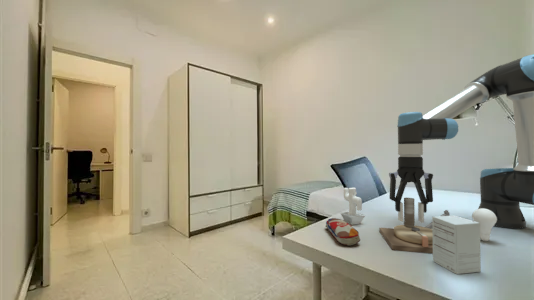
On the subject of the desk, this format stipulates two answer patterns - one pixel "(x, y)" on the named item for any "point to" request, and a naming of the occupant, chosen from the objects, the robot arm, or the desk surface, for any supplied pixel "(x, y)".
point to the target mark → (424, 241)
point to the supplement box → (456, 244)
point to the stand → (403, 242)
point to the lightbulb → (484, 222)
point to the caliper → (441, 215)
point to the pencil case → (343, 231)
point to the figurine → (352, 207)
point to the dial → (412, 226)
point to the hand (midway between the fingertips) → (410, 220)
